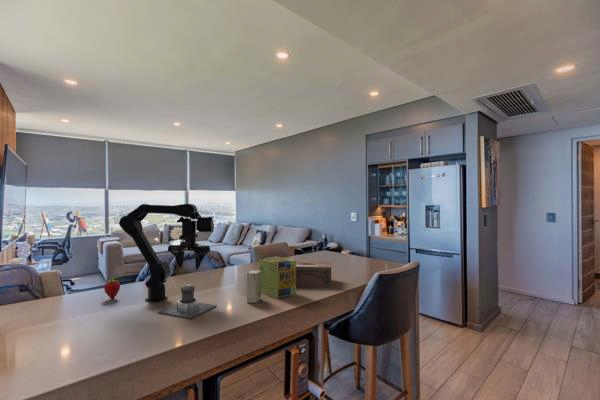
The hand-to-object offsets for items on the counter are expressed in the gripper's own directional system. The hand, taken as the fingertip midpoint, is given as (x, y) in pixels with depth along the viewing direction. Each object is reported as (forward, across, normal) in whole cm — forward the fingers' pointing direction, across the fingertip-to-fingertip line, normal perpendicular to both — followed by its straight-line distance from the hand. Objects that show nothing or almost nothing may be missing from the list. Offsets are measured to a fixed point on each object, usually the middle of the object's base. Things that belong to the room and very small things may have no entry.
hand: (188, 268), depth 128 cm
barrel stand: (+13, +10, -11) cm, 20 cm away
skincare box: (+13, +28, +8) cm, 32 cm away
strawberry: (+13, -30, -13) cm, 35 cm away
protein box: (+13, +32, +22) cm, 41 cm away
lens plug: (+12, +10, -11) cm, 19 cm away
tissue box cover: (+14, +38, +44) cm, 60 cm away
